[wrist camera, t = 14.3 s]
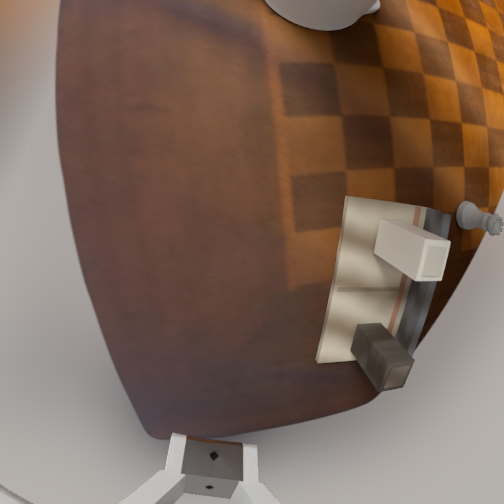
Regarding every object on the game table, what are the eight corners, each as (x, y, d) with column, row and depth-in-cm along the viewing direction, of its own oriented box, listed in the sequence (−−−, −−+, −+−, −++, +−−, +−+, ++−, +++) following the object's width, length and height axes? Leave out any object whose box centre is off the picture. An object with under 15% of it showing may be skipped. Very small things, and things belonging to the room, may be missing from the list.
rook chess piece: (475, 213, 39) (509, 224, 31) (462, 233, 40) (496, 248, 32) (464, 194, 38) (500, 203, 30) (450, 215, 38) (486, 227, 31)
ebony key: (357, 324, 40) (389, 365, 31) (380, 322, 41) (415, 360, 31) (350, 350, 41) (378, 393, 32) (373, 348, 42) (403, 388, 33)
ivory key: (379, 218, 36) (426, 239, 26) (404, 221, 36) (452, 242, 27) (373, 252, 37) (416, 281, 28) (397, 254, 38) (442, 281, 28)
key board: (345, 195, 36) (363, 201, 31) (429, 207, 38) (451, 214, 33) (315, 359, 43) (325, 380, 38) (392, 352, 45) (406, 369, 40)
